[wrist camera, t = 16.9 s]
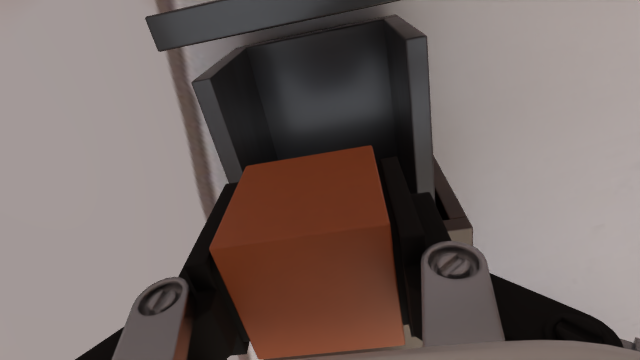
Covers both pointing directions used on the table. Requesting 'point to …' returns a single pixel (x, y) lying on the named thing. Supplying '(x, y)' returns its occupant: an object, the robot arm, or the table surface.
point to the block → (311, 256)
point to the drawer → (309, 84)
